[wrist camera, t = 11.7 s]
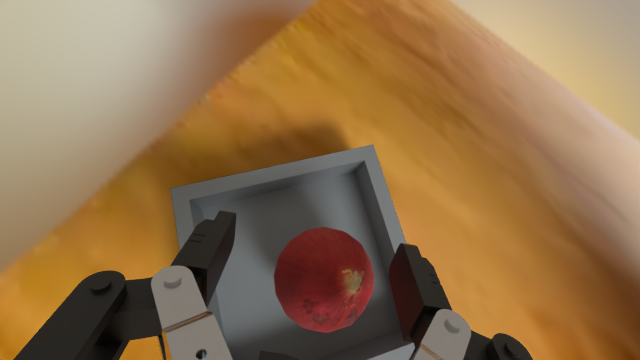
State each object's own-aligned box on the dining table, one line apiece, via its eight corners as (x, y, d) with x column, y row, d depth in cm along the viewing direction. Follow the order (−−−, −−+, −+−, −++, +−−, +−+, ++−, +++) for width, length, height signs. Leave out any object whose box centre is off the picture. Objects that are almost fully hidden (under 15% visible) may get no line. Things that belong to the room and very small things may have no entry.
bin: (359, 162, 25) (373, 144, 21) (414, 335, 22) (442, 351, 18) (189, 201, 22) (170, 188, 18) (223, 404, 19) (208, 440, 15)
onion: (347, 303, 21) (421, 333, 14) (270, 327, 19) (311, 377, 12) (332, 224, 22) (395, 214, 15) (257, 238, 20) (288, 234, 13)
